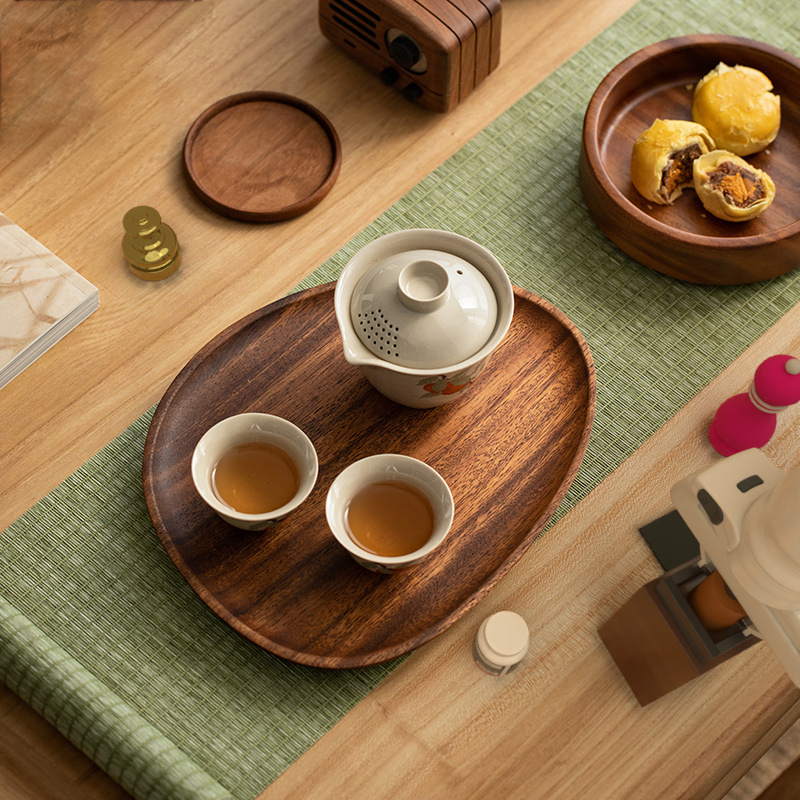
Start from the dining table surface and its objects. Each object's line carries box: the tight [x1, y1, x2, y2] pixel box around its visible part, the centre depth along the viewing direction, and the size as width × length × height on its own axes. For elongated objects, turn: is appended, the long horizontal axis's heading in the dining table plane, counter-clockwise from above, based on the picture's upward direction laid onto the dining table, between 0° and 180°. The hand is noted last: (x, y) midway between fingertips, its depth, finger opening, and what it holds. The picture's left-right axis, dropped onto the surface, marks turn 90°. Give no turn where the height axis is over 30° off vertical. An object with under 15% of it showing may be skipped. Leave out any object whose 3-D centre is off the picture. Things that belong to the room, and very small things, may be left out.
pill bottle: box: [471, 610, 531, 677], centre depth 101 cm, size 6×6×10 cm
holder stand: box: [596, 555, 763, 708], centre depth 96 cm, size 10×10×23 cm
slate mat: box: [638, 508, 701, 573], centre depth 112 cm, size 10×10×1 cm
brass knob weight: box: [121, 204, 182, 282], centre depth 124 cm, size 7×7×10 cm
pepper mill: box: [708, 353, 800, 458], centre depth 110 cm, size 7×7×20 cm
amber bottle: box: [687, 569, 748, 632], centre depth 85 cm, size 5×5×9 cm
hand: (726, 595), depth 85 cm, fingers closed on amber bottle, 5 cm apart
